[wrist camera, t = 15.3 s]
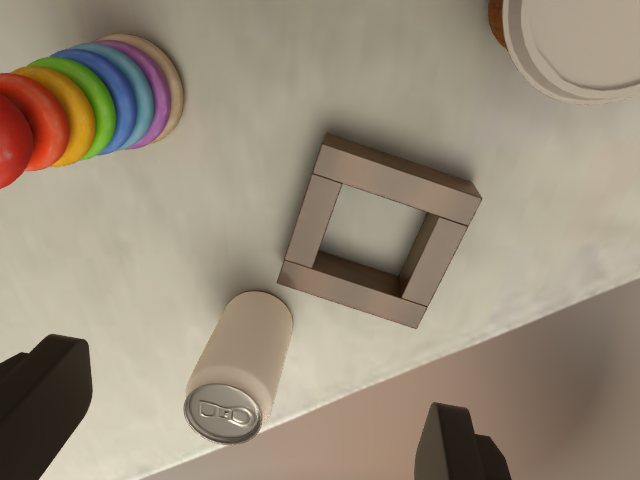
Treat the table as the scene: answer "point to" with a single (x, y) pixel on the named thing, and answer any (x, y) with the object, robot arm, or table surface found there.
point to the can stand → (395, 184)
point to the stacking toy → (86, 104)
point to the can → (239, 370)
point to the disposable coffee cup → (573, 46)
